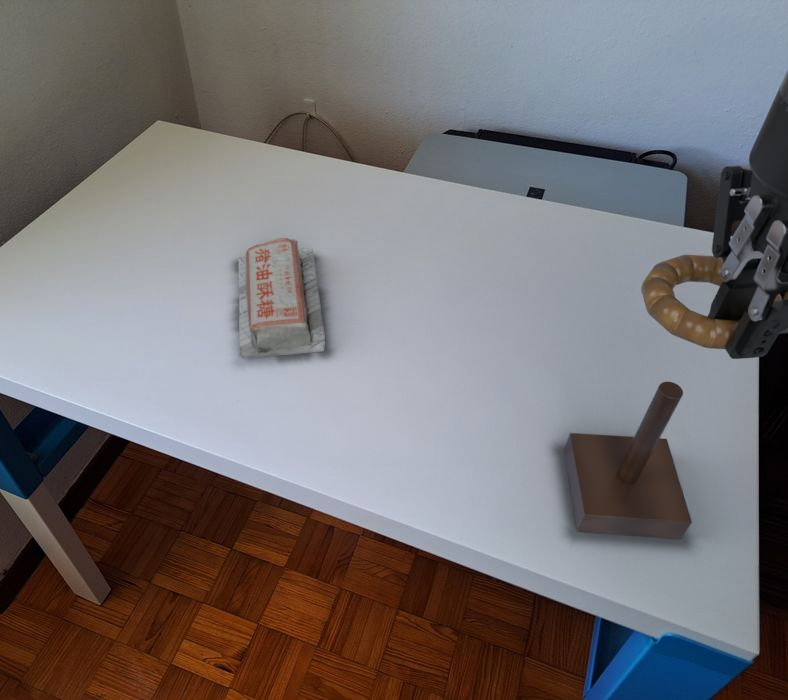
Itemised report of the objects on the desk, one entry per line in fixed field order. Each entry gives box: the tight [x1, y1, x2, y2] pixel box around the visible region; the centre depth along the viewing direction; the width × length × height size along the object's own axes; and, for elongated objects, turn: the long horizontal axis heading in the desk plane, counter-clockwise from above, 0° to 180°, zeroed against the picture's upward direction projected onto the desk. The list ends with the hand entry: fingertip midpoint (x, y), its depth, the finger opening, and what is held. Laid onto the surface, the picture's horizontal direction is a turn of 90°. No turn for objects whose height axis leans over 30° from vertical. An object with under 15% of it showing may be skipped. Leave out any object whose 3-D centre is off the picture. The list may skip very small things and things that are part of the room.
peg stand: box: [563, 381, 693, 540], centre depth 59 cm, size 9×9×15 cm
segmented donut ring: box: [640, 254, 783, 350], centre depth 49 cm, size 9×9×2 cm
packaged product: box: [238, 237, 326, 359], centre depth 83 cm, size 18×5×10 cm
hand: (731, 338), depth 47 cm, fingers closed on segmented donut ring, 2 cm apart
